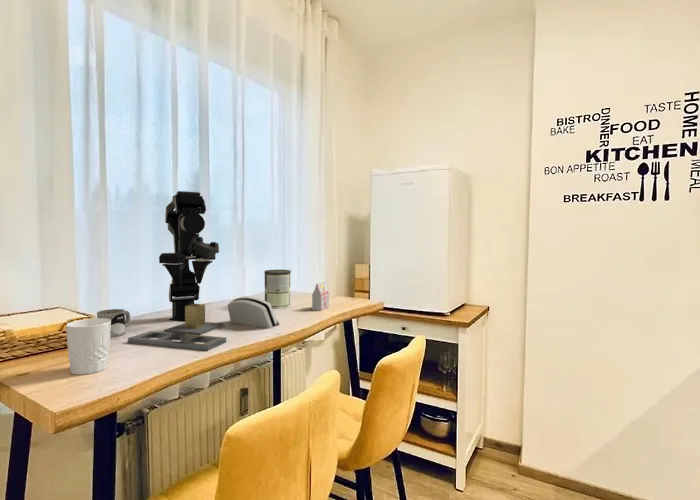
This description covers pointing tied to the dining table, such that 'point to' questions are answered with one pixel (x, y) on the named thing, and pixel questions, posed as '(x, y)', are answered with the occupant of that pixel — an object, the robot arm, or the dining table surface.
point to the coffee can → (277, 288)
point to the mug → (116, 320)
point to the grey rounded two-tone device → (252, 312)
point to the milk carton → (320, 297)
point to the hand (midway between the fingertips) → (189, 285)
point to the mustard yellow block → (194, 316)
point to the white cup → (88, 345)
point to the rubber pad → (198, 331)
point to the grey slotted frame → (185, 343)
